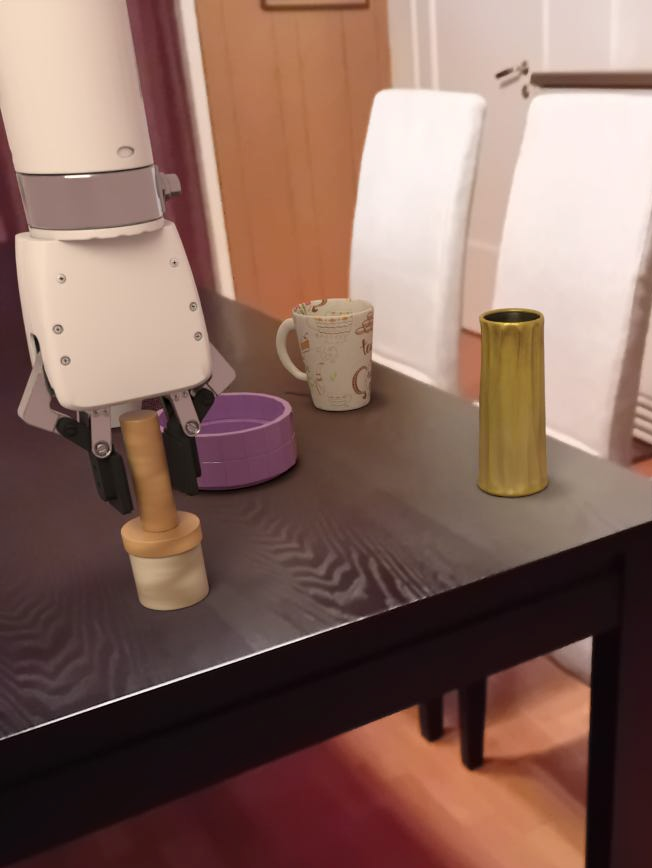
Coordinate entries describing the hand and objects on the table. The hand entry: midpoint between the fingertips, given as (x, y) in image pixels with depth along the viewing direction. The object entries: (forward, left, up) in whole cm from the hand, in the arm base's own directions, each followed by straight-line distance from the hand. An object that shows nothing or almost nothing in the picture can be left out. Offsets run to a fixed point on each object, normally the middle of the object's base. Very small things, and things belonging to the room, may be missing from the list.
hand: (153, 496), depth 67 cm
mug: (+31, +32, -8) cm, 45 cm away
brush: (0, 0, -7) cm, 7 cm away
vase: (+31, 0, -8) cm, 32 cm away
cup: (+11, +41, -8) cm, 43 cm away
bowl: (+14, +20, -7) cm, 26 cm away
